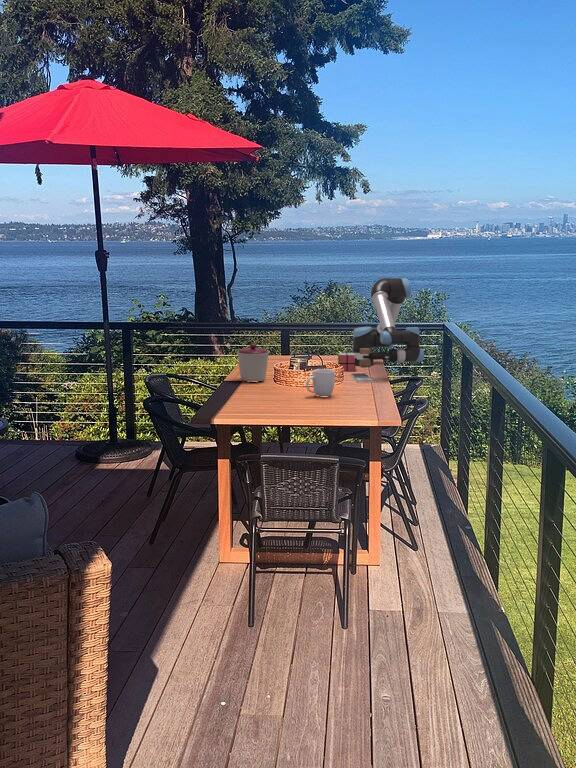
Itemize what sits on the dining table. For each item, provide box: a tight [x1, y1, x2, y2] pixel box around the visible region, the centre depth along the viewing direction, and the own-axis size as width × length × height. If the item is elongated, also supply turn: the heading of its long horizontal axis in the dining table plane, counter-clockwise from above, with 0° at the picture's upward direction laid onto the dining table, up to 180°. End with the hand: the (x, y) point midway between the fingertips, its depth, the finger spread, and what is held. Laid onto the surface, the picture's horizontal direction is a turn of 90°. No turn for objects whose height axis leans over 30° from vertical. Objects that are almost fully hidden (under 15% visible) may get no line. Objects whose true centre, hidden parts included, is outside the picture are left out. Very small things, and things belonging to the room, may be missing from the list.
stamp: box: [358, 348, 372, 368], centre depth 444 cm, size 5×5×10 cm
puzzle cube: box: [337, 352, 356, 373], centre depth 479 cm, size 10×10×10 cm
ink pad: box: [349, 373, 370, 378], centre depth 457 cm, size 9×9×1 cm
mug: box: [305, 368, 336, 397], centre depth 399 cm, size 15×11×13 cm
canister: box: [236, 343, 270, 382], centre depth 440 cm, size 18×18×21 cm
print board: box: [351, 376, 377, 383], centre depth 446 cm, size 11×11×1 cm
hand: (355, 356), depth 443 cm, fingers closed on stamp, 5 cm apart
